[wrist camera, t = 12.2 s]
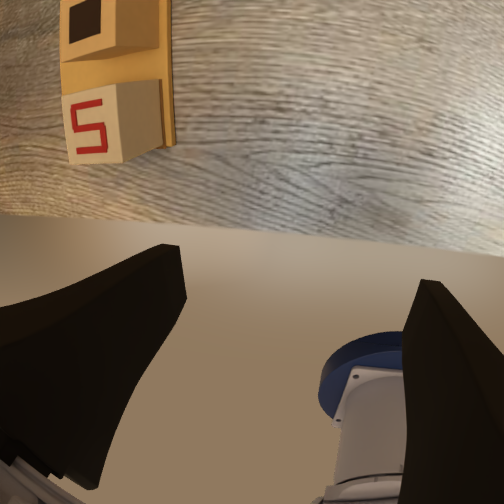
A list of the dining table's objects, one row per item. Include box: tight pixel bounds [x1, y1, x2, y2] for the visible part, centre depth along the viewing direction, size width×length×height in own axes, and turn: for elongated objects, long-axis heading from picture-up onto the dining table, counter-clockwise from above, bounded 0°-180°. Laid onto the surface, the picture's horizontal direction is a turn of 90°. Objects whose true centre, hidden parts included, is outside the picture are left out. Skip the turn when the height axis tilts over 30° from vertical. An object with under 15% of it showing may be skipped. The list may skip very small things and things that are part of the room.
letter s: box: [61, 79, 163, 165], centre depth 15 cm, size 4×4×4 cm
